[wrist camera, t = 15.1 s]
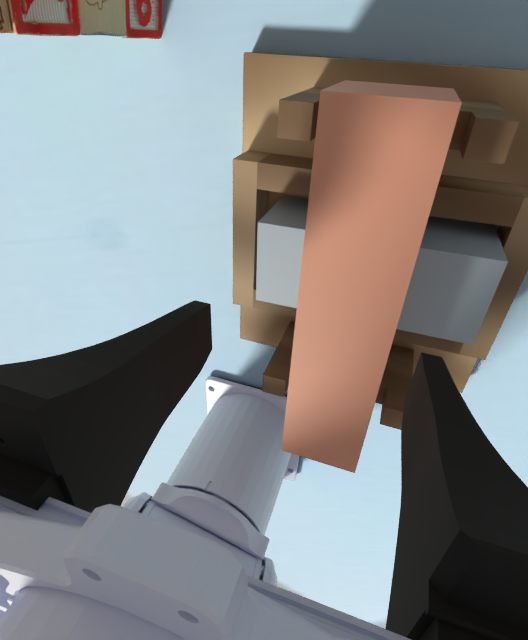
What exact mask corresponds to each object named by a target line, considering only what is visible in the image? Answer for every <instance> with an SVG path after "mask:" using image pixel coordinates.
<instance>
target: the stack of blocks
mask: <svg viewBox="0 0 528 640" xmlns="http://www.w3.org/2000/svg"><path fill="white" fill-rule="evenodd" d="M0 33H13V34H19V35H38V36H78V35H109V36H118V37H122V38H150V39H160V38H161V0H0Z"/></svg>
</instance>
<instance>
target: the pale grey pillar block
mask: <svg viewBox="0 0 528 640" xmlns="http://www.w3.org/2000/svg"><path fill="white" fill-rule="evenodd" d="M308 200H309V199H304V198H297V197H290V196H283V197H282V198H281V199H280V200H279V201H278V202H277V203H276V204H275V205H274V206H273V207H272V208H271V209H270V210H269V211H268V212H267V213H266V214H265V215H264V216H263V217H262V218H261V219H260V220H259V222H258V232H257V274H256V300H259V301H264V302H269V303H274V304H278V305H283V306H288V307H293V308H297V302H298V292H299V283H300V274H301V265H302V256H303V246H304V237H305V228H306V219H307V209H308ZM507 263H508V260H507V258H506V255H505V252H504V250H503V247H502V244H501V241H500V239H499V236H498V233H497V230H496V228H495V225H493V224H485V223H478V222H471V221H464V220H456V219H449V218H442V217H435V216H429V218H428V221H427V225H426V228H425V232H424V235H423V239H422V242H421V245H420V249H419V252H418V256H417V259H416V263H415V266H414V270H413V273H412V277H411V280H410V283H409V287H408V290H407V294H406V297H405V301H404V304H403V308H402V311H401V315H400V318H399V321H398V325H397V328H396V329H399V330H403V331H408V332H413V333H418V334H423V335H427V336H432V337H437V338H442V339H447V340H452V341H456V342H461V343H466V344H471V345H473V344H474V342H475V339H476V337H477V334H478V332H479V330H480V327H481V325H482V322H483V320H484V318H485V315H486V313H487V311H488V308H489V306H490V303H491V301H492V299H493V296H494V294H495V291H496V289H497V287H498V284H499V282H500V280H501V277H502V275H503V272H504V270H505V268H506V265H507Z"/></svg>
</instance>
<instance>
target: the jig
mask: <svg viewBox="0 0 528 640" xmlns="http://www.w3.org/2000/svg"><path fill="white" fill-rule="evenodd" d="M344 80H349V81H362V82H375V83H388V84H401V85H414V86H427V87H440V88H453V89H454V90H455V91H456V93H457V95H458V97H459V98H460V100H461V102H462V104H461V107H460V111H459V114H458V118H457V121H456V124H455V128H454V131H453V135H452V138H451V142H450V145H449V149H448V152H447V156H446V159H445V162H444V166H443V169H442V173H441V176H440V180H439V183H438V187H437V190H436V194H435V197H434V200H433V204H432V207H431V211H430V214H429V216H435V217H442V218H449V219H456V220H464V221H471V222H478V223H485V224H493V225H495V228H496V230H497V233H498V236H499V239H500V241H501V244H502V247H503V250H504V252H505V255H506V258H507V260H508V263H507V265H506V268H505V270H504V272H503V275H502V277H501V280H500V282H499V284H498V287H497V289H496V291H495V294H494V296H493V299H492V301H491V303H490V306H489V308H488V311H487V313H486V315H485V318H484V320H483V322H482V325H481V327H480V330H479V332H478V334H477V337H476V339H475V342H474V344H473V345H471V344H466V343H461V342H456V341H452V340H447V339H442V338H437V337H432V336H427V335H423V334H418V333H413V332H408V331H403V330H399V329H396V332H395V335H394V339H393V342H392V346H391V349H390V353H389V356H388V359H387V363H386V366H385V370H384V373H383V377H382V380H381V384H380V387H379V391H378V394H377V397H376V401H375V403H379V404H382V411H381V419H380V424H382V425H386V426H389V427H393V428H396V429H400V430H401V428H402V418H403V410H404V403H405V397H406V395H407V392H408V389H409V386H410V383H411V380H412V377H413V374H414V372H415V369H416V366H417V363H418V360H419V357H420V354H421V352H422V353H427V354H431V355H435V356H440V357H442V358H443V360H444V361H445V363H446V366H447V368H448V370H449V372H450V374H451V376H452V379H453V381H454V383H455V385H456V387H457V389H458V390H459V392H461V393H462V392H463V389H464V387H465V385H466V383H467V381H468V379H469V376H470V374H471V372H472V370H473V368H474V365H475V363H476V361H477V359H482V360H485V359H486V357H487V355H488V353H489V350H490V348H491V346H492V344H493V342H494V340H495V338H496V336H497V334H498V331H499V329H500V327H501V325H502V323H503V321H504V319H505V317H506V314H507V312H508V310H509V308H510V306H511V304H512V302H513V300H514V298H515V295H516V293H517V291H518V289H519V287H520V285H521V283H522V281H523V279H524V276H525V274H526V272H527V270H528V70H520V69H505V68H489V67H473V66H458V65H442V64H427V63H411V62H395V61H380V60H364V59H348V58H333V57H317V56H302V55H286V54H270V53H255V52H246V53H244V75H243V154H241V155H239V156H237V157H236V158H234V159H233V304H238V305H241V316H240V338H241V339H245V340H249V341H253V342H257V343H261V344H265V345H270V346H274V347H277V349H276V351H275V353H274V355H273V357H272V359H271V361H270V363H269V365H268V367H267V368H266V370H265V372H264V374H263V388H262V392H266V393H270V394H273V395H277V396H280V397H284V396H285V393H286V391H287V388H288V385H289V375H290V366H291V357H292V348H293V339H294V329H295V320H296V311H297V308H293V307H288V306H283V305H278V304H274V303H269V302H264V301H259V300H256V274H257V232H258V222H259V220H260V219H261V218H262V217H263V216H264V215H265V214H266V213H267V212H268V211H269V210H270V209H271V208H272V207H273V206H274V205H275V204H276V203H277V202H278V201H279V200H280V199H281V198H282V197H283V196H290V197H297V198H304V199H309V191H310V182H311V173H312V163H313V154H314V145H315V136H316V127H317V117H318V108H319V99H320V90H323V89H325V88H328V87H330V86H332V85H335V84H337V83H340V82H342V81H344Z"/></svg>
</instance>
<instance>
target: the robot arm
mask: <svg viewBox="0 0 528 640" xmlns="http://www.w3.org/2000/svg"><path fill="white" fill-rule="evenodd" d="M211 350H212V334H211V308H210V304H208V303H203V302H199V301H193V302H190V303H188V304H186V305H184V306H182V307H180V308H178V309H176V310H174V311H172V312H170V313H168V314H166V315H164V316H162V317H160V318H158V319H156V320H154V321H152V322H150V323H148V324H146V325H144V326H141V327H139V328H137V329H135V330H132V331H130V332H128V333H126V334H123V335H121V336H118V337H116V338H113V339H111V340H108V341H105V342H102V343H99V344H96V345H93V346H90V347H87V348H83V349H79V350H76V351H72V352H68V353H65V354H61V355H56V356H52V357H47V358H42V359H37V360H32V361H26V362H19V363H12V364H4V365H0V640H528V487H527V486H526V485H525V484H524V483H523V482H522V481H521V479H520V478H519V477H518V476H517V475H516V474H515V473H514V472H513V470H512V469H511V468H510V467H509V466H508V465H507V463H506V462H505V461H504V460H503V458H502V457H501V456H500V455H499V453H498V452H497V451H496V449H495V448H494V447H493V445H492V444H491V443H490V441H489V440H488V439H487V437H486V436H485V434H484V433H483V431H482V430H481V428H480V427H479V425H478V423H477V422H476V420H475V419H474V417H473V415H472V414H471V412H470V410H469V409H468V407H467V405H466V403H465V401H464V400H463V398H462V396H461V394H460V392H459V390H458V389H457V387H456V385H455V383H454V381H453V379H452V376H451V374H450V372H449V370H448V368H447V366H446V363H445V361H444V360H443V358H442V357H440V356H435V355H431V354H427V353H422V352H421V354H420V357H419V360H418V363H417V366H416V369H415V372H414V374H413V377H412V380H411V383H410V386H409V389H408V392H407V395H406V397H405V403H404V410H403V418H402V428H401V461H402V492H401V509H400V518H399V528H398V537H397V546H396V554H395V563H394V571H393V579H392V587H391V594H390V602H389V609H388V616H387V623H386V629H384V628H381V627H378V626H376V625H373V624H371V623H368V622H366V621H363V620H361V619H358V618H356V617H353V616H351V615H348V614H345V613H343V612H340V611H338V610H335V609H333V608H330V607H328V606H325V605H323V604H320V603H318V602H315V601H313V600H310V599H307V598H305V597H302V596H300V595H297V594H295V593H292V592H290V591H287V590H285V589H282V588H280V587H277V576H276V573H275V569H274V563H273V561H272V560H271V559H269V558H266V557H264V555H265V552H266V549H267V546H268V542H269V538H267V537H266V536H264V534H265V531H266V528H267V525H268V523H269V520H270V517H271V514H272V511H273V508H274V505H275V502H276V499H277V496H278V493H279V490H280V487H281V484H282V481H283V479H286V480H289V481H294V480H295V478H296V474H297V468H298V461H299V455H295V454H292V453H289V452H286V451H282V450H281V449H282V440H283V431H284V421H285V412H286V403H287V397H286V396H284V397H280V396H277V395H273V394H270V393H266V392H262V390H260V389H257V388H253V387H249V386H246V385H242V384H238V383H235V382H231V381H227V380H224V379H220V378H217V377H213V376H210V377H208V378H207V380H206V398H207V417H206V418H205V420H204V422H203V423H202V425H201V427H200V428H199V430H198V432H197V433H196V435H195V437H194V438H193V440H192V442H191V443H190V445H189V447H188V448H187V450H186V452H185V453H184V455H183V457H182V458H181V460H180V462H179V463H178V465H177V467H176V468H175V470H174V472H173V473H172V475H171V477H170V478H169V480H168V482H167V483H161V485H160V486H159V488H158V490H157V491H156V493H155V495H154V496H153V498H152V496H150V495H149V494H147V493H145V492H144V493H141V494H140V495H138V496H135V497H133V498H131V499H129V500H128V501H127V502H126V503H125V504H124V506H123V507H121V503H122V501H123V499H124V497H125V495H126V493H127V491H128V489H129V487H130V485H131V483H132V481H133V479H134V477H135V475H136V473H137V471H138V469H139V467H140V465H141V463H142V461H143V460H144V458H145V456H146V454H147V452H148V450H149V448H150V447H151V445H152V443H153V441H154V439H155V438H156V436H157V434H158V432H159V431H160V429H161V427H162V426H163V424H164V422H165V421H166V419H167V418H168V416H169V415H170V414H171V412H172V411H173V409H174V408H175V407H176V405H177V404H178V403H179V401H180V400H181V398H182V397H183V396H184V394H185V393H186V391H187V390H188V389H189V387H190V386H191V384H192V383H193V382H194V380H195V379H196V377H197V376H198V374H199V373H200V371H201V370H202V368H203V366H204V364H205V362H206V360H207V358H208V356H209V354H210V352H211ZM211 386H212V387H211Z"/></svg>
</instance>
